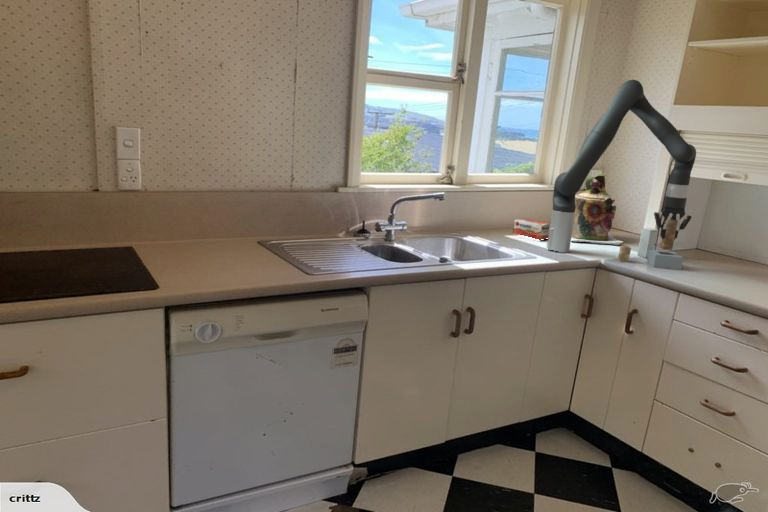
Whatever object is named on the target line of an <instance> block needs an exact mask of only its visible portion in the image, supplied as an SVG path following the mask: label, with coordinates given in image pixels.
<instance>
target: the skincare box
mask: <svg viewBox="0 0 768 512" xmlns="http://www.w3.org/2000/svg"><path fill="white" fill-rule="evenodd" d="M658 234H659V229H658V228H653V227H643V228H641V232H640V237H639V244H638V249H637V250H638V251H637V256H638V257H641V258H646V259H647V256H648V251H649V249H650V250H656V246H657V240H658V239H657V238H658Z"/></svg>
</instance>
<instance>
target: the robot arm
mask: <svg viewBox="0 0 768 512" xmlns="http://www.w3.org/2000/svg"><path fill="white" fill-rule="evenodd" d="M629 111H630V112H631V113H633V114H634V115H635V116H637V117H638V119H640V120H641V121H642V122H643V124H644V125H645V126H646V127H647V128H648V129H649V131H650V132H651V133H652V134H653V136H654V137H656V139H657V140H658V141H659V142H660V143H661V144H662V145H663V146H664V147H665V149H666V151H667V152H668V153H669V155H670V156H671V157H672V158H673V159H674V165H673V168H672V169H671V171H670V175H669V180H668V185H667V187H666V192H665V197H664V203H663V208H662V209H661V211H658V212H657V211H655V212H654V213H653V216H654V220H655V223H656V226H657V227H658V228H660V234H659V236H660V238H661V240H662V239H664V238H665V233H666V227H667V224H668V220H678V222H677V227H676V232H675V238H674V241H675V240H676V239H678V235H679V231H681V230H685V228H686V227H687V226H688V225H689V222H690V221H691V219H692V218H693V217H692V215H690V214H687V213H686V212H685V209H686V205H687V200H688V195H689V185H690V180H691V173H692V170H693V167H694V165H695V161H696V158H697V150H696V147H695V146H694V145H693V144H689V143H688V142H687V141H686V140H685V139H684V138H683V137H682V135H681V134H680V131H678V128H676V127H675V126H674V125H673V124H672V123H671V121H669V120H668V118H666V117H665V116H664V115H663V114H661V113H660V112H659V111H658V110H656V108H655V107H654V106H652V104H651V103H650V102H649V100H648V99H647V97H646V96H645V93H644V87H643V85H642V83H641V82H640V81H639V80H637V79H629V80H627V81H624V82H623V83H622V84H621V85H620V86H619V87H618V90H617V91H616V93H615V95H614V97H613V99H612V101H611V103H610V104H609V106H608V108H606V110H605V112H604V113H603V114H602V116H600V117H599V119H598V121H597V122H596V123H595V125H594V126H593V127H592V129H591V130H590V132H589V133H588V135H587V136H586V137H585V139H584V141H583V143H582V145H581V148H580V149H579V152H578V155H577V158H576V159H575V160H574V162H573V164H572V165H571V166H570V168H569V169H568V170H567V171H565V172H562V173H560V174H559V175H557V176H556V179H555V181H554V185H553V192H552V193H553V194H552V210H551V219H550V227H549V233H548V240H546V241H547V242H546V249H547V248H548V249H549V250H548V251H550V250H555V251H560V252H559V253H569V252H570V248H571V243H572V242H571V236H572V230H573V223H574V216H575V209H576V205H575V202H576V201H575V195H577V193H578V192H579V191H580V190H581V188H582V186H583V184H584V182H586V181H585V180H587V178H588V175H589V173H590V172H591V171H592V169H593V168H594V166H596V164H597V163H598V161H599V159H601V157H602V156H603V154H604V153H605V152H606V150H607V149H608V147H609V146H610V145H611V144H612V142H613V140H614V139H615V137H616V134H617V133H618V131H619V129H620V126H621V124H622V122H623V120H624V118H625V116H626V115H627V113H628V112H629ZM662 216H663V219H662V222H661V218H662ZM682 218H683V220H682V222H681V223H680V220H681V219H682ZM555 251H554V252H555Z"/></svg>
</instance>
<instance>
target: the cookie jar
mask: <svg viewBox="0 0 768 512" xmlns="http://www.w3.org/2000/svg"><path fill="white" fill-rule="evenodd" d="M605 176H606V173H603V174H599V175H593V176H590V177H587V178H586V179H585V180H586V181H585V188H586V190H584V191H583V192H581V193H579V194H577V193H576V195H575V205H576V209H575V216H574V223H573V230H572V236H571V241H573V242H579V243H581V242H582V243H584V242H586V243H592V244H603V245H615V246H620V245H621V244H622V243H624V241H622V240H619V239H617V238H615V237H614V236H613V235H612V234H609V232H610V231H611V230H612V226H613V221H614V219H615V216H616V211H617V205H613V204H614V203H615V201H616V199H615V198H613V197H611V196H610V194H609V193H608V192H607V191H606V177H605ZM572 238H573V239H572Z"/></svg>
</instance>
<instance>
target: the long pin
mask: <svg viewBox="0 0 768 512" xmlns="http://www.w3.org/2000/svg"><path fill="white" fill-rule="evenodd" d="M677 222H678V220H668V224H667V227H666V233H665V238H664V239H662V238H661V243H660V246H659V247H660V248H661V250H664V251H672V250H673V248H674V242H675V240H674V238H675V232H676V227H677ZM675 239H676V238H675Z"/></svg>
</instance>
